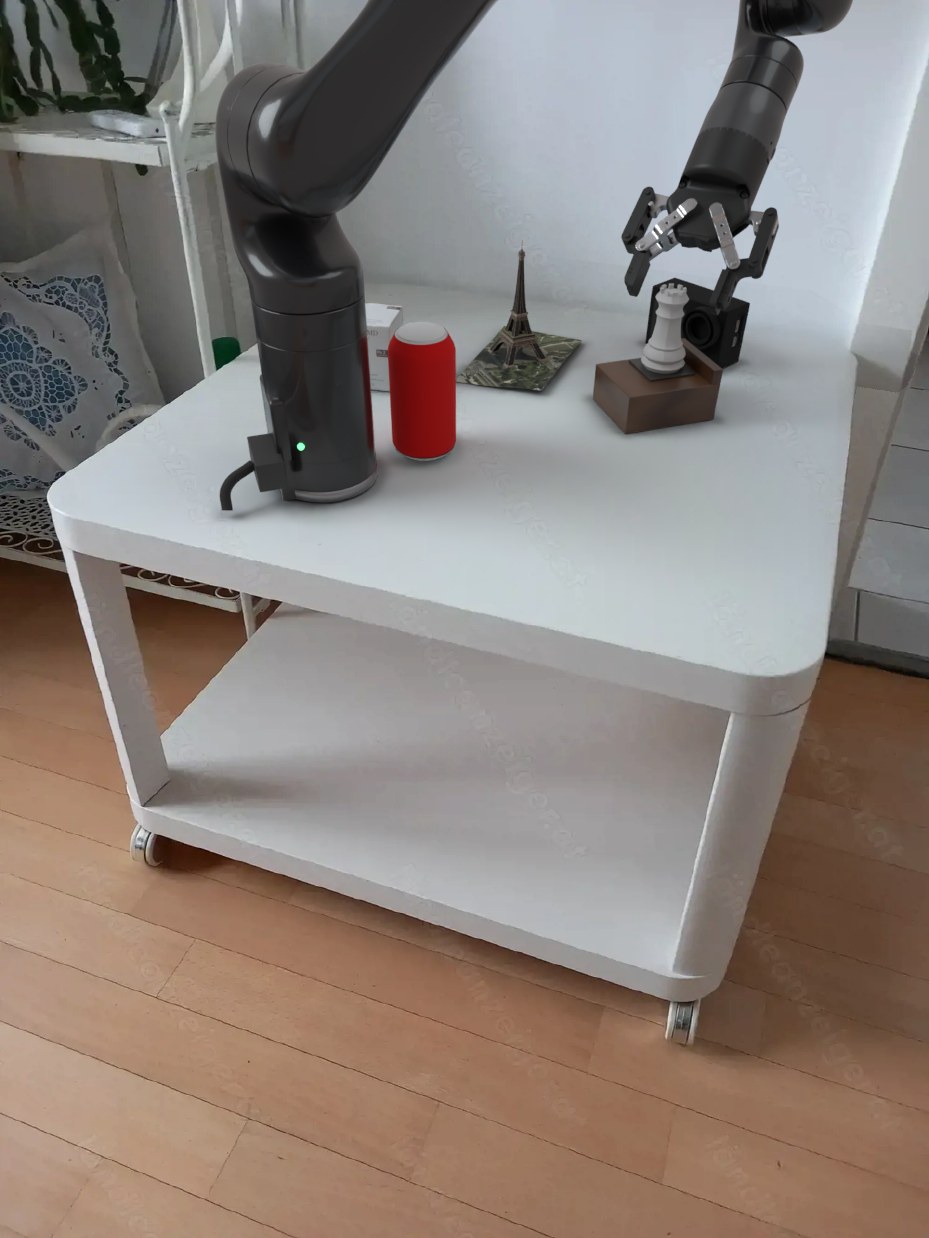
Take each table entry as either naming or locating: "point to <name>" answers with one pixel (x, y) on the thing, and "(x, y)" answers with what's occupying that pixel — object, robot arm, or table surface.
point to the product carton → (381, 340)
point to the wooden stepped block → (658, 392)
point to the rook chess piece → (667, 332)
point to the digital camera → (706, 323)
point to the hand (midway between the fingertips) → (671, 301)
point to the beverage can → (422, 391)
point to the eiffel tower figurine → (519, 350)
